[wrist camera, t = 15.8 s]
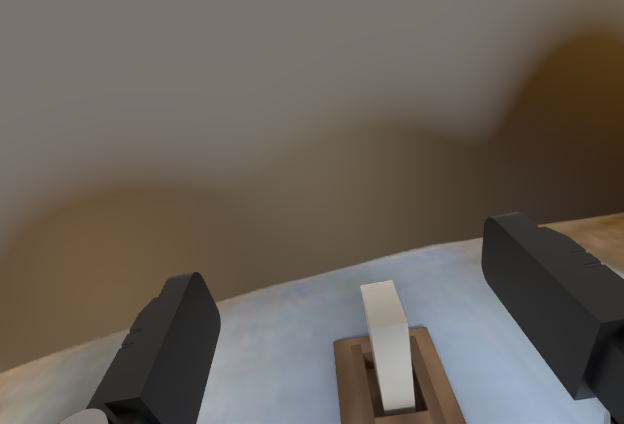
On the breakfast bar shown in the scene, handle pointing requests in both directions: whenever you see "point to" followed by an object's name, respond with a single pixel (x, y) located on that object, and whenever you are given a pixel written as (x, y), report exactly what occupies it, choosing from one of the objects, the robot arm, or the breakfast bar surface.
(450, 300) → the breakfast bar surface
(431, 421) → the walnut rack
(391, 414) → the clay bar
